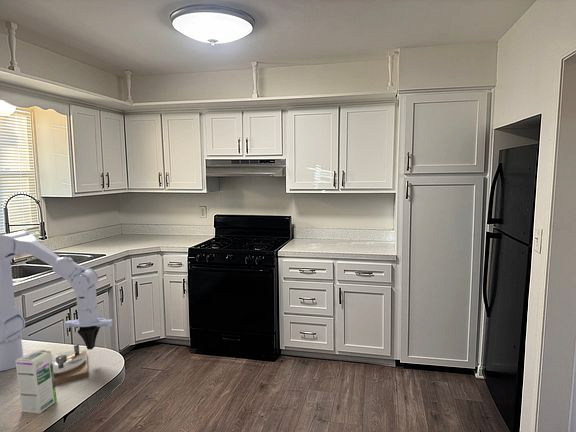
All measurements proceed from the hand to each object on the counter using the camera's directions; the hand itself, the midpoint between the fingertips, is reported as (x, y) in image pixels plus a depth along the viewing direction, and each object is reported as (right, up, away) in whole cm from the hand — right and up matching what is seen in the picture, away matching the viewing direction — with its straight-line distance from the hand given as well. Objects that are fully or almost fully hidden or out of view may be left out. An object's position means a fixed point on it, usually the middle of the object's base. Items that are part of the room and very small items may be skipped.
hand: (91, 348), depth 125 cm
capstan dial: (-7, -4, -4) cm, 9 cm away
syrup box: (-2, -8, -23) cm, 24 cm away
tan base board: (-7, -6, -4) cm, 10 cm away
